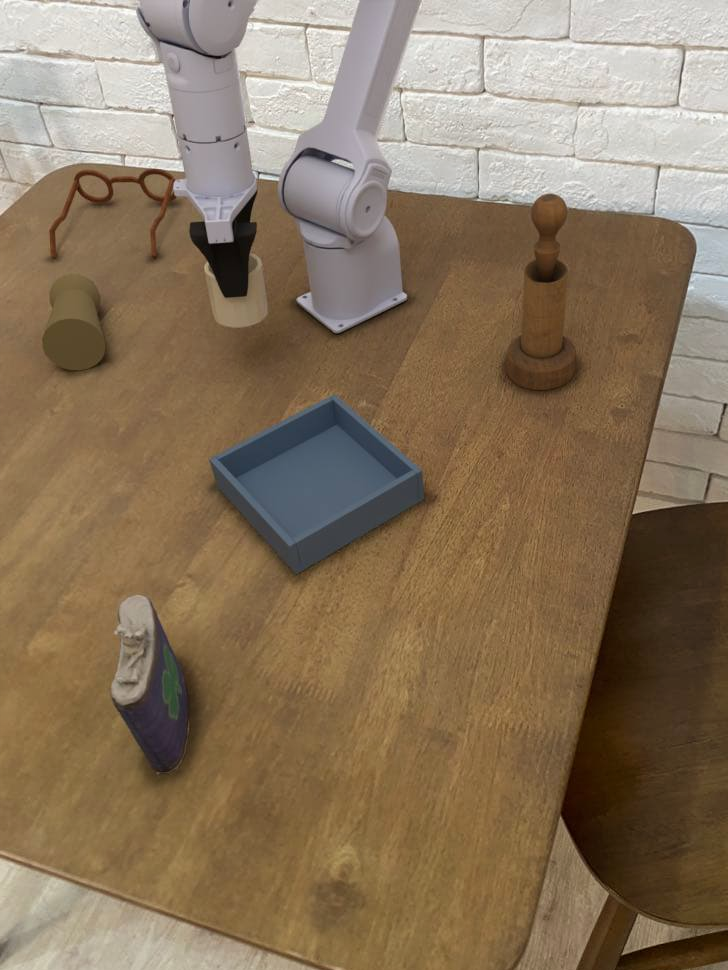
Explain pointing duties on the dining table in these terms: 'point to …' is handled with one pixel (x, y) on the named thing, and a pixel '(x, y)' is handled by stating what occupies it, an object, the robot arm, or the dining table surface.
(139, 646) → the flask
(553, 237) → the mortar and pestle
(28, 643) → the dining table surface
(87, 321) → the pepper mill
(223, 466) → the tray
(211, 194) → the robot arm
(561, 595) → the dining table surface
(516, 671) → the dining table surface
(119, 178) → the glasses
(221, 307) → the cream cup
